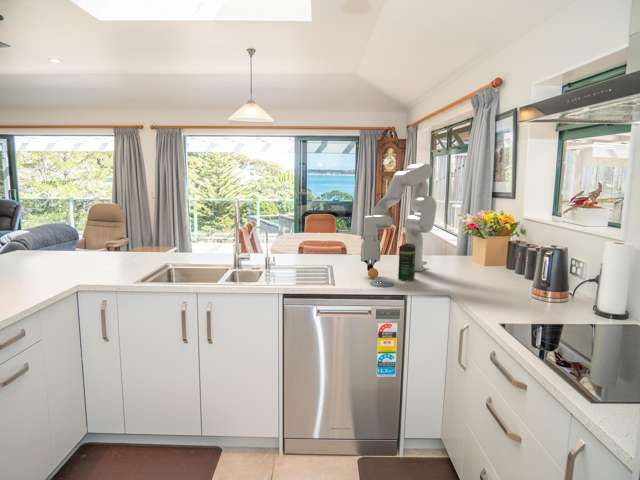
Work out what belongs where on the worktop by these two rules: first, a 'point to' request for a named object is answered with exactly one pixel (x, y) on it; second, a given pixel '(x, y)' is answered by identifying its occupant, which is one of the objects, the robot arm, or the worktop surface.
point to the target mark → (382, 284)
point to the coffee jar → (406, 262)
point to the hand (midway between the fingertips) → (370, 271)
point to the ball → (372, 273)
